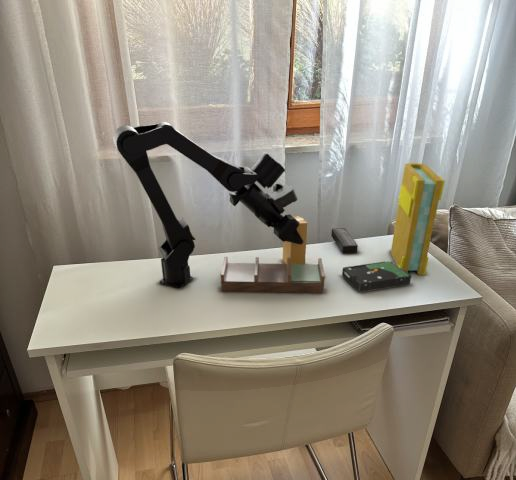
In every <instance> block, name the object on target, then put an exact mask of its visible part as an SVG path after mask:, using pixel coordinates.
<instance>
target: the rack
mask: <svg viewBox="0 0 516 480" xmlns="http://www.w3.org/2000/svg"><path fill="white" fill-rule="evenodd" d="M228 259H229V258H228V256H224V258H223V262H222V267H221V271H220V287H221V292H233V293H237V292H239V293H240V292H241V293H243V292H244V293H249V292H250V293H295V294H297V293H303V294H324V290H325V279H326V276H325V270H324V265H323V259H322V258H321V257H318V259H317V260H318V261H317V264H316V263H315V264H314V263H308V264H307V263H305V264H290V258H287V264H285V263H261V262H260V257H258V256H256V257H255V262H254V263H253V262H229V260H228Z"/></svg>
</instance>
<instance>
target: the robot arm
mask: <svg viewBox="0 0 516 480" xmlns="http://www.w3.org/2000/svg"><path fill="white" fill-rule="evenodd" d="M112 135H113V136H112V140H113V141H112V142H113V144H114V146H115V147H116V149H117V151H118V153H119V154H120V155H121V157H123V159H124V160H125V162H126V163H127V165H128V166H129V167H130V168H131V169H132V171H133V172H134V173H135V175H136V176H137V179H138V180H139V182H140V184H141V186H142V188H143V190H144V192H145V193H146V195H147V197H148V200H149V201H150V203H151V205H152V207H153V209H154V210H155V212H156V214H157V216H158V217H159V220H160V222H161V226H162V230H163V232H164V236H165V240H164V241H163V242H162V243H161V245H160V246H159V247H158V249H159V251H160V253H161V255H162V258H160V265H161V273H162V279H160V280H159V284H161V285H164V286H168V287H172V288H176V289H181V288H182V287H184V286H185V285H187V284H188V283H190V282H191V281H192V280H193V279H194V276H192V275H191V267H190V265H189V258H190V255H192V254H193V252H194V250H195V247H196V245H195V242H194V241H196V238H195V236H194V235H193V233H192V231H191V229H190V226H189V223H188V222H187V221H186V220H185V219H184V218H183V217H181V218H180V219H179V218H177V216H176V214H175V213H174V211H173V208H172V207H171V205H170V202H169V201H168V199H167V197H166V195H165V193H164V190H163V189H162V187H161V184H160V183H159V181H158V179H157V177H156V175H155V173H154V171H153V169H152V168H151V164H150V160H149V156H148V152H149V151H151V150H154V149H156V148H159V147H161V146H165V145H168V147H171V148H172V149H174V150H175V151H177V152H178V153H180V154H181V155H183V156H184V157H186V158H187V159H189V160H190V161H192V162H193V163H195V164H196V165H198V166H199V167H201V168H202V169H204V170H205V171H207V172H208V173H209V174H210V175H211V176H212V177H213V178H214V179H215V180H216V181H217V182H218V183H219V184H220V185H222V186H223V188H225V189H226V190H227V191H228V192H229V203H230V204H231V205H233V207H236V206H237V205H238V204H239V203H241V204H242V205H244V206H245V207H246V208H247V209H248V210H249V211H250V212H251V213H252V214H254V217H256V218H257V219H258V220H259V221H260V222H261V223H262V224H264V225H265V226H267V227H268V228H273V234H274V235H275V236H276V237H277V238H278V239H279V240H280V241H281V242H282V243H283V242H284V241H287V242H292V243H296V244H300V245H302V244H303V242H304V241H303V239H302V238H301V236H300V234H299V233H298V231H297V228H298V226H299V224H300V223H299V222H298V221H297V220H296V219H295V218H294V217H295V216H293V215H291V214H285V215H283V214H284V212H285V211H286V209H285V208H286V207H288V206H289V205H291V204H293V203H295V202H297V201H298V197H297V194H296V192H295V191H296V190H295V189H294V187H293V186H291V185H289V184H285V183H284V184H283V185H282V184H281V183H280V182H278V180H279V178H281V176H282V175H283V174H284V173H285V171H286V168H284V166H283V165H282V164H281V163H280V162H278V161H276V160H275V159H274V158H273V157H272V156H271V155H270V154H269V153H267V152H265V151H264V152H263V153H262V154H261V155H260V157H259V159H258V160H257V161H256V162H255V164H254V165H253V166H252V167H251V168H249V166H237V165H236V164H235V163H233V162H231V161H229V160H226V159H225V158H222V157H219V156H216V155H214V154H212V153H211V152H209V151H207V150H206V149H204V148H203V147H202V146H200V144H199V145H198V144H197V143H196V142H194V141H193V140H191V139H190V138H188V137H187V136H186V135H184V134H183V133H181V132H180V131H179V130H177V129H176V128H175V127H174V126H173V125H171V124H170V123H168V122H167V121H161V122H158V123H154V124H145V125H138V126H130V125H126V124H125V125H120V126H119V127H117V128H116V129H115V131H114V132H113V134H112ZM256 182H257V183H258V185H257V184H256ZM259 185H260V186H261V187H262V188H263V189H266V188H267V189H271V188H272V192H271V194H270V195H269V194H268V193H267V192H264V191H263V189H262V188H260V187H259Z"/></svg>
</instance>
